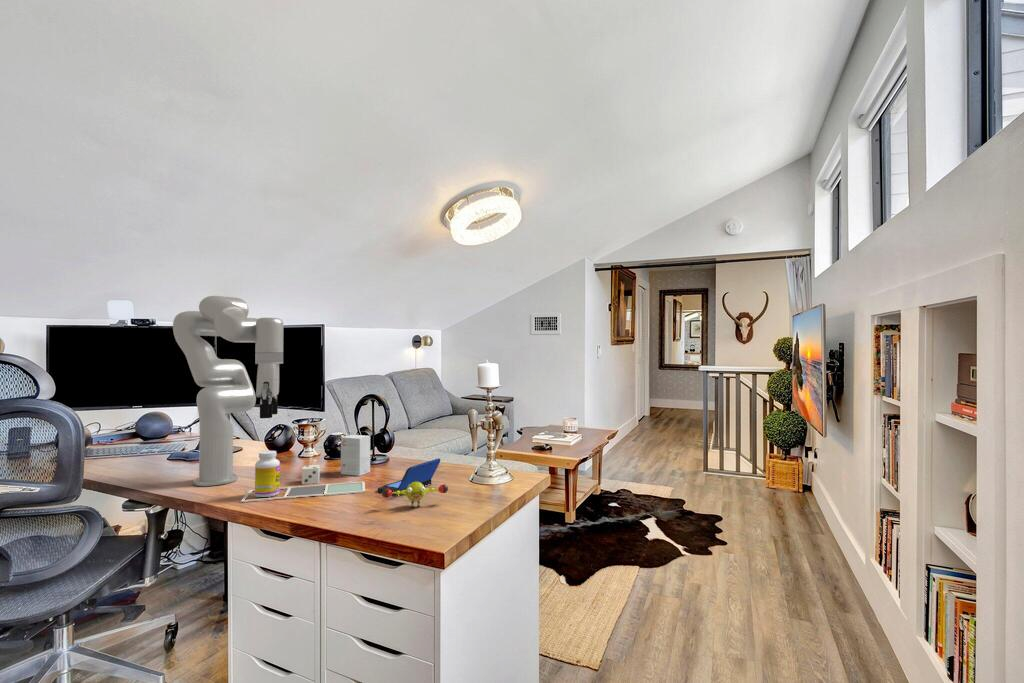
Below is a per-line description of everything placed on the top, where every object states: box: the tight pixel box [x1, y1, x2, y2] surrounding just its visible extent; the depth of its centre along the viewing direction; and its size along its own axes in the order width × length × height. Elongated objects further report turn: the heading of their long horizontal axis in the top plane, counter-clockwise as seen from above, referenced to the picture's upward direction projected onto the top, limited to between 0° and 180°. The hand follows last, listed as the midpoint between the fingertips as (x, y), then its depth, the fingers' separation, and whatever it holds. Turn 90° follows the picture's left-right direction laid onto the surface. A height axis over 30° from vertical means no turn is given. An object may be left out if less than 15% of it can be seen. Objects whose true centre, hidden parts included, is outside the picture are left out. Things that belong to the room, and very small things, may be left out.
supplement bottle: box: [254, 450, 281, 498], centre depth 146 cm, size 7×7×13 cm
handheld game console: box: [377, 457, 441, 497], centre depth 153 cm, size 16×13×9 cm
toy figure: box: [381, 482, 449, 508], centre depth 135 cm, size 18×6×7 cm, turn 106°
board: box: [240, 481, 366, 503], centre depth 149 cm, size 12×34×1 cm, turn 107°
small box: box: [340, 434, 371, 477], centre depth 173 cm, size 8×6×13 cm
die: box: [301, 464, 321, 485], centre depth 161 cm, size 5×5×5 cm
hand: (268, 416), depth 146 cm, fingers open, 9 cm apart
